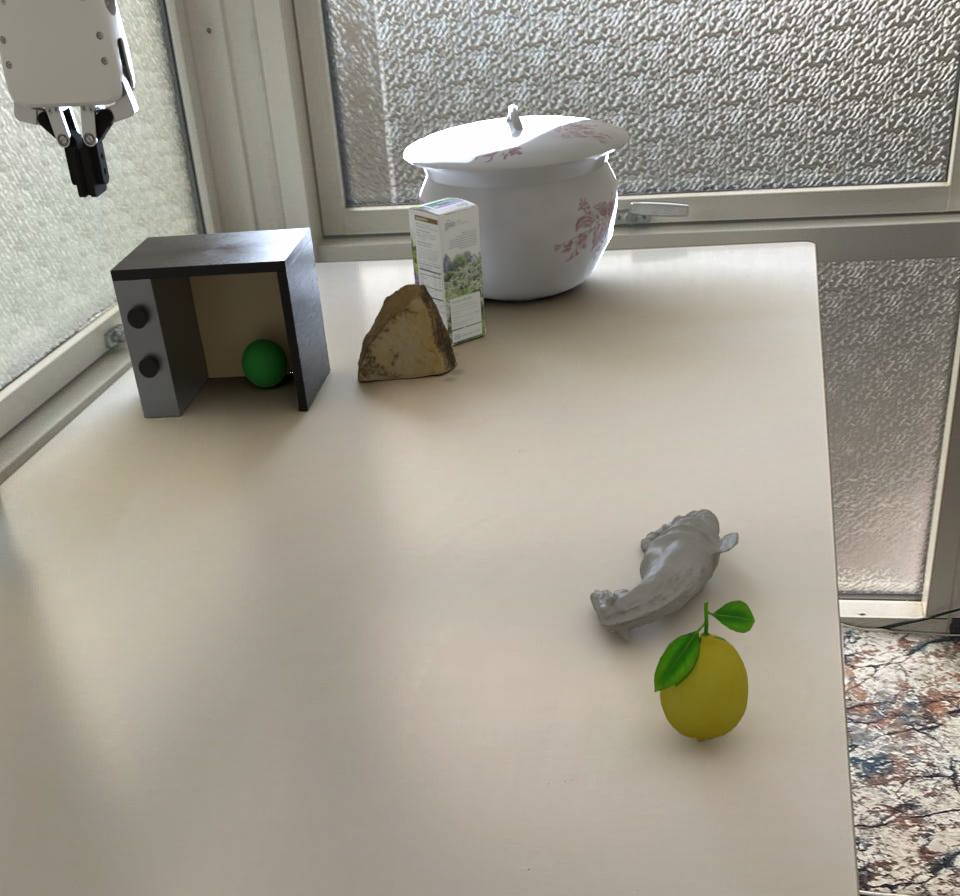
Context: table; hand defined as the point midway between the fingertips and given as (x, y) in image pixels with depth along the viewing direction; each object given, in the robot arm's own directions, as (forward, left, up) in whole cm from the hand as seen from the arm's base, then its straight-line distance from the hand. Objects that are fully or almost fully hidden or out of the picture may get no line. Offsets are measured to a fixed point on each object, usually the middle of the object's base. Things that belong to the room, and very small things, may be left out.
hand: (93, 193), depth 119 cm
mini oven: (+5, +17, -24) cm, 30 cm away
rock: (+23, +21, -24) cm, 40 cm away
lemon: (+53, -53, -24) cm, 78 cm away
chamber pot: (+34, +53, -24) cm, 68 cm away
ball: (+7, +19, -22) cm, 30 cm away
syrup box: (+27, +33, -24) cm, 49 cm away
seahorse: (+50, -32, -24) cm, 64 cm away
